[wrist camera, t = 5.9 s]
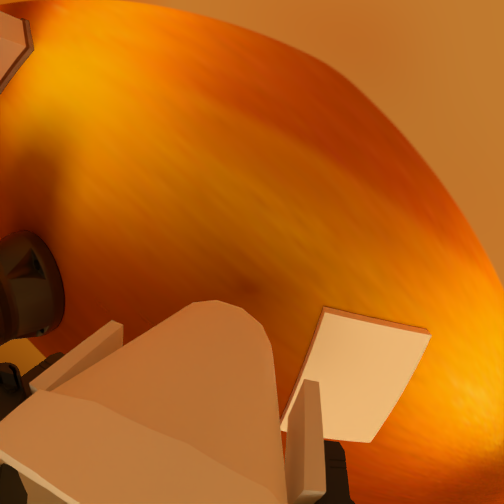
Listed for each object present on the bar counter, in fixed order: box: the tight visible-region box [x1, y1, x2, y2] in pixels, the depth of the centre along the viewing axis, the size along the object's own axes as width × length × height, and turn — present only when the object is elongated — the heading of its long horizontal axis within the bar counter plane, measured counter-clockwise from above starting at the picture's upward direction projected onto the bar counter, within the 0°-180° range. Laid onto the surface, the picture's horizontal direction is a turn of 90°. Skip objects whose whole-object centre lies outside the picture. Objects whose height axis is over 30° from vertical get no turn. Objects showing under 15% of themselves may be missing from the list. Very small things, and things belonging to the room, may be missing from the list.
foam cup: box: [0, 300, 288, 504], centre depth 10 cm, size 10×9×13 cm
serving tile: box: [280, 307, 432, 443], centre depth 28 cm, size 12×16×2 cm
